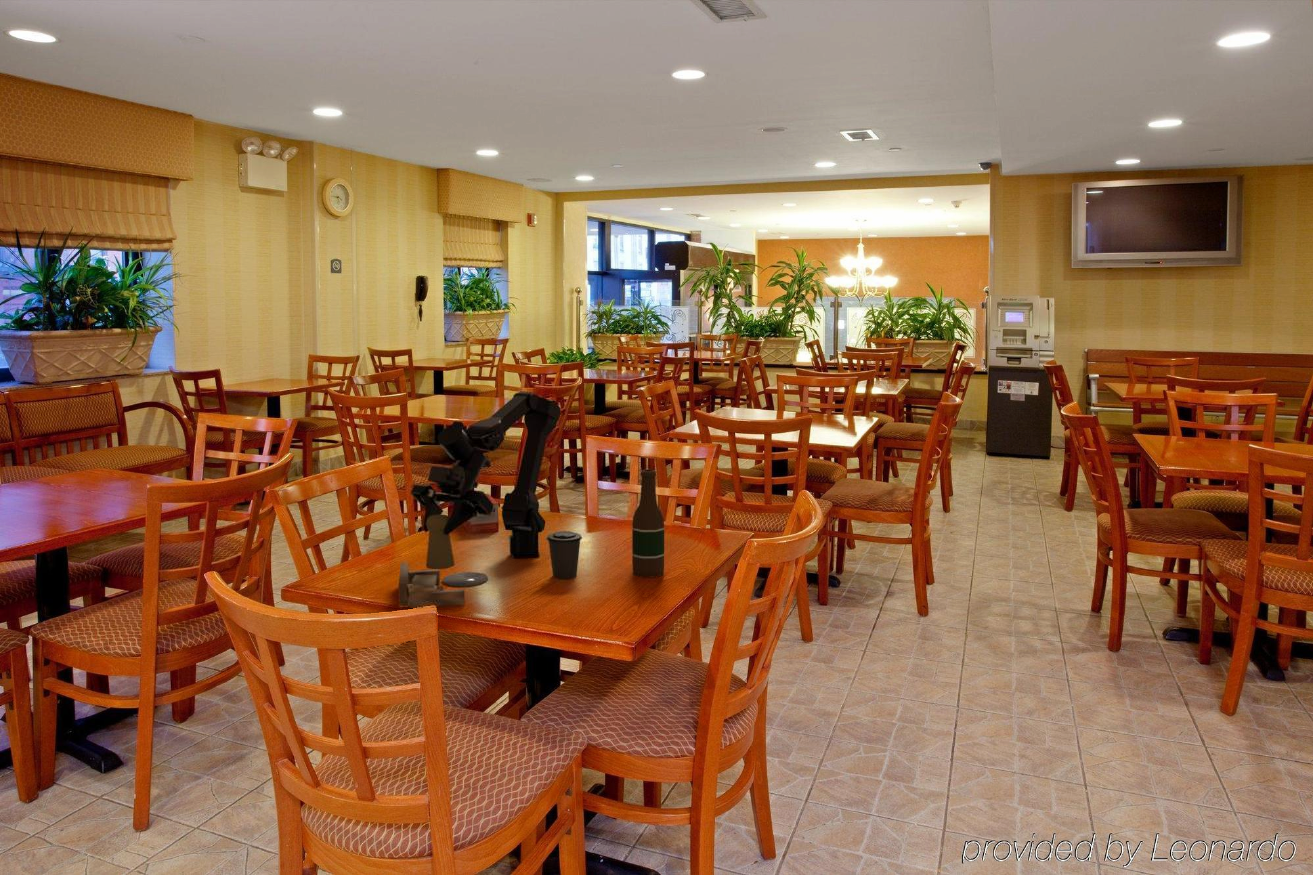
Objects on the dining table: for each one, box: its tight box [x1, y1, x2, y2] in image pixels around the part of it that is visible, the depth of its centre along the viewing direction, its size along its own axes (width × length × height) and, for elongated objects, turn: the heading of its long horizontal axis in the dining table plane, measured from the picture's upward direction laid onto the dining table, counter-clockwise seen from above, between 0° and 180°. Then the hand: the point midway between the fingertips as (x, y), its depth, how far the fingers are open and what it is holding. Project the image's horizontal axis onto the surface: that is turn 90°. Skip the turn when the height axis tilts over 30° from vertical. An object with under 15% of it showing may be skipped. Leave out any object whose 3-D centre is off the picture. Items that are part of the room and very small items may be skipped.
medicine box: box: [462, 493, 500, 535], centre depth 264 cm, size 15×8×8 cm, turn 21°
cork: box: [425, 514, 455, 570], centre depth 205 cm, size 6×6×11 cm
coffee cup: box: [546, 530, 583, 580], centre depth 217 cm, size 8×8×10 cm
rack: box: [398, 561, 466, 609], centre depth 204 cm, size 13×17×5 cm
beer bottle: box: [631, 469, 665, 578], centre depth 219 cm, size 8×8×24 cm
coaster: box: [442, 571, 489, 588], centre depth 214 cm, size 10×10×1 cm
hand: (434, 532), depth 204 cm, fingers closed on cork, 5 cm apart
